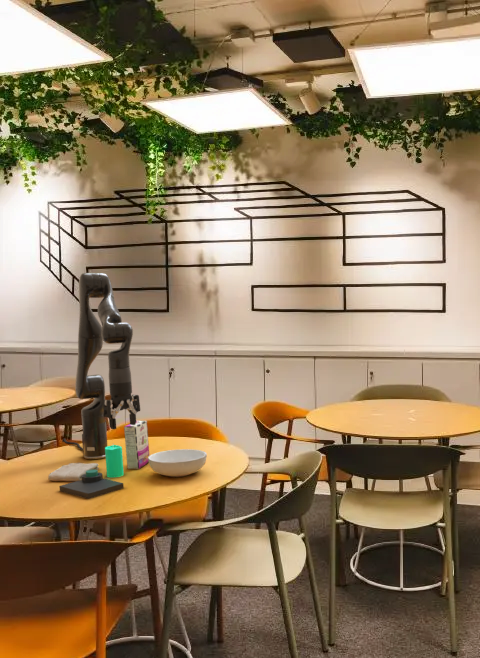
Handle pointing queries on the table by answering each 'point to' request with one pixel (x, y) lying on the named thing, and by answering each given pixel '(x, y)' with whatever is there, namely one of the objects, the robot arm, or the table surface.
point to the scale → (91, 486)
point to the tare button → (91, 473)
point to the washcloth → (71, 472)
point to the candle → (114, 461)
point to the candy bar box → (136, 445)
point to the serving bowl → (177, 462)
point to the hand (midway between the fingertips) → (123, 426)
